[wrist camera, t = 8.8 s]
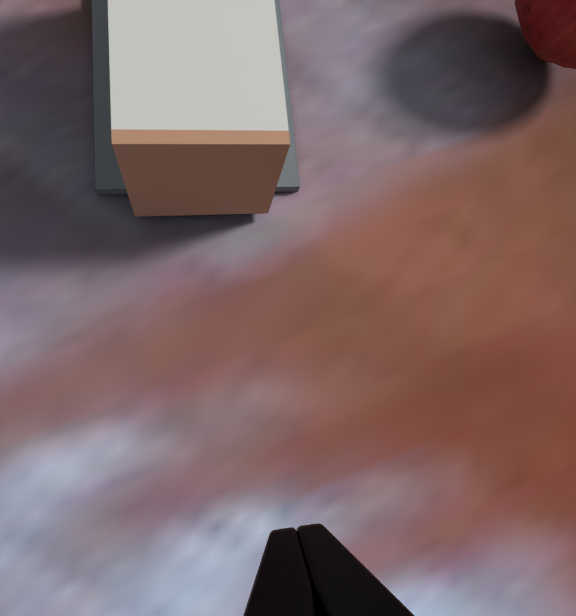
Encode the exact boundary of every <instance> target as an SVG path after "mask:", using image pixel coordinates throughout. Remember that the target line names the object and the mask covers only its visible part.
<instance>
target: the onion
mask: <svg viewBox="0 0 576 616" xmlns="http://www.w3.org/2000/svg"><path fill="white" fill-rule="evenodd" d="M515 6H516V10H517V14H518V18H519V22H520V26H521V30H522V34H523V37H524V38H525V40H526V41H527V43H528V44H529V45H530V47H531V48H532V50H533V52H534V53H535V55H536V56H537V58H538V59H539V60H542V61H544V62H550V63H554V64H557V65H559V66H562V67H566V68H573V69H576V0H515Z"/></svg>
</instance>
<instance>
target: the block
mask: <svg viewBox="0 0 576 616" xmlns="http://www.w3.org/2000/svg"><path fill="white" fill-rule="evenodd" d="M108 29H109V65H110V101H111V137H112V146H113V150H114V153H115V156H116V159H117V162H118V165H119V168H120V171H121V175H122V178H123V181H124V184H125V187H126V190H127V193H128V196H129V200H130V203H131V206H132V209H133V212H134V215H135V217H136V216H178V215H219V214H261V213H268V212H269V209H270V205H271V202H272V199H273V196H274V193H275V190H276V187H277V184H278V181H279V178H280V175H281V172H282V168H283V165H284V162H285V159H286V156H287V153H288V150H289V147H290V137H289V128H288V119H287V110H286V100H285V91H284V82H283V73H282V64H281V55H280V46H279V37H278V28H277V19H276V10H275V0H108Z"/></svg>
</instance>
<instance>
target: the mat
mask: <svg viewBox="0 0 576 616" xmlns="http://www.w3.org/2000/svg"><path fill="white" fill-rule="evenodd" d="M275 10H276V19H277V28H278V37H279V46H280V55H281V64H282V73H283V82H284V91H285V100H286V110H287V119H288V128H289V137H290V147H289V150H288V153H287V156H286V159H285V162H284V165H283V168H282V172H281V175H280V178H279V181H278V184H277V187H276V190H275V192H298V190H299V187H300V184H299V175H298V166H297V157H296V148H295V138H294V129H293V120H292V111H291V102H290V93H289V84H288V75H287V66H286V57H285V48H284V39H283V30H282V21H281V12H280V3H279V0H275ZM92 49H93V105H94V160H95V190H96V192H97V194H128V193H127V190H126V187H125V184H124V181H123V178H122V175H121V171H120V168H119V165H118V162H117V159H116V156H115V153H114V150H113V146H112V137H111V101H110V65H109V29H108V0H92Z"/></svg>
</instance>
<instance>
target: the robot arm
mask: <svg viewBox="0 0 576 616" xmlns="http://www.w3.org/2000/svg"><path fill="white" fill-rule="evenodd" d="M244 616H414V615H413V614H412V613H411V612H410V611H409V610H408V609H407V608H406V607H405V606H404V605H403V604H402V603H401V602H400V601H399V600H398V599H397V598H396V597H395V596H394V595H393V594H392V593H391V592H390V591H389V590H388V589H387V588H386V587H385V586H384V585H383V584H382V583H381V582H380V581H379V580H378V579H377V578H376V577H375V576H374V575H373V574H372V573H371V572H370V571H369V570H368V569H367V568H366V567H365V566H364V565H363V564H362V563H361V562H360V561H359V560H358V559H357V558H356V557H355V556H353V555H352V554H351V553H350V552H349V551H348V550H347V549H346V548H345V547H344V546H343V545H342V544H341V543H340V542H339V541H338V540H337V539H336V538H335V537H334V536H333V535H332V534H331V533H330V532H329V531H328V530H327V529H326V528H325V527H324V526H323V525H322V524H311V525H304V526H299V527H298V528H297V531H296V530H295V528H292V527H291V528H284V529H278V530H273V531H272V532H271V533H270V535H269V538H268V541H267V544H266V547H265V550H264V553H263V556H262V559H261V563H260V566H259V569H258V572H257V575H256V578H255V581H254V584H253V588H252V591H251V594H250V597H249V600H248V603H247V606H246V609H245V612H244Z"/></svg>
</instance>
